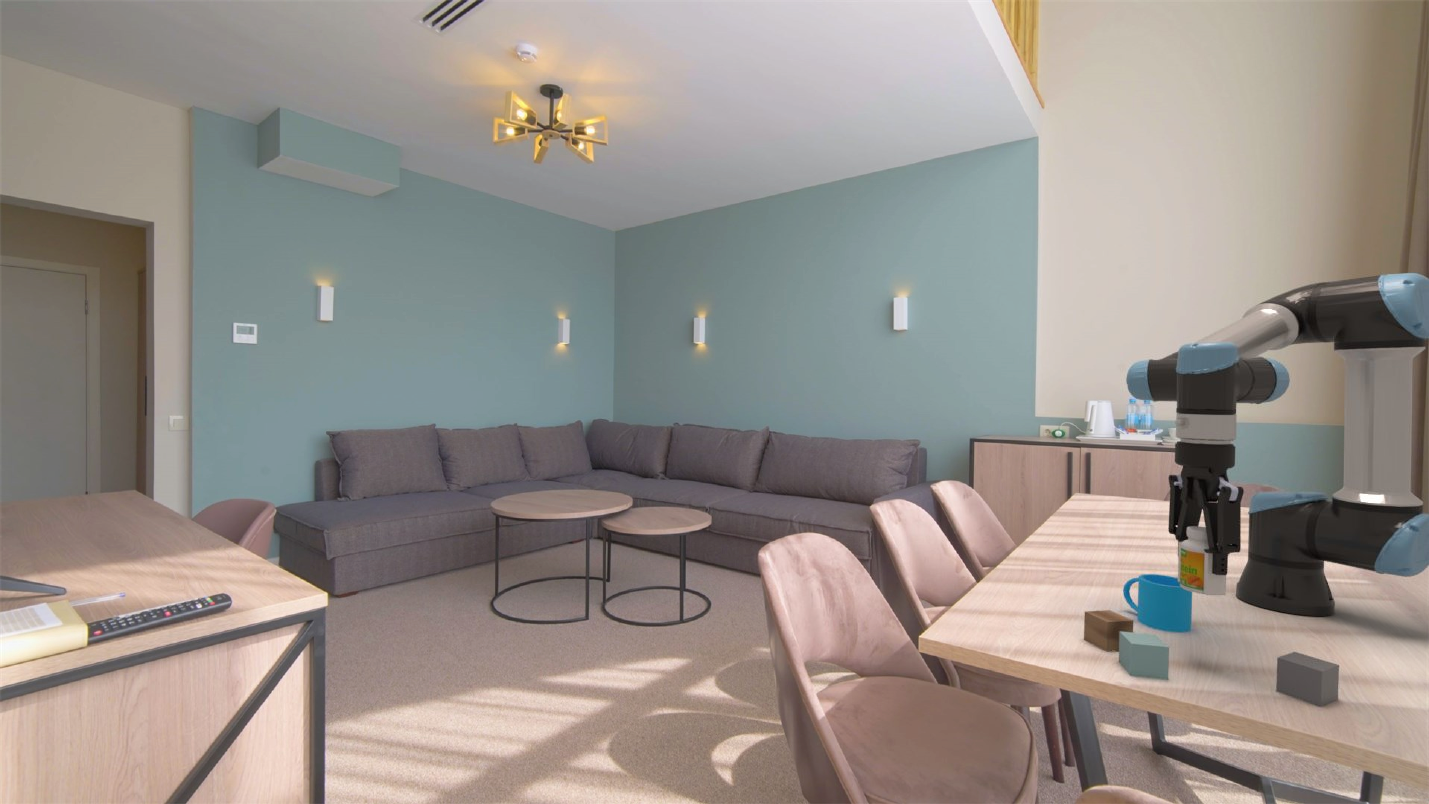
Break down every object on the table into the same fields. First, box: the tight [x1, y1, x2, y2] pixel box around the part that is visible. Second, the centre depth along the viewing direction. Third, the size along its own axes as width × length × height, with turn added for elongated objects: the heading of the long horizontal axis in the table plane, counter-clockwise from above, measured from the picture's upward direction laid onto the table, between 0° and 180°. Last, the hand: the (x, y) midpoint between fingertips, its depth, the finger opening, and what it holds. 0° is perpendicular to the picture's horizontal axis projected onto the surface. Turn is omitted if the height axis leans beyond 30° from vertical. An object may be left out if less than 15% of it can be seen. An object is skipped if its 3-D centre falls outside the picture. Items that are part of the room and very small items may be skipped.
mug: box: [1122, 573, 1193, 633], centre depth 120 cm, size 12×8×8 cm
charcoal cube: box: [1275, 651, 1340, 708], centre depth 91 cm, size 5×5×5 cm
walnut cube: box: [1083, 609, 1134, 652], centre depth 109 cm, size 5×5×5 cm
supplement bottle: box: [1180, 526, 1218, 596], centre depth 101 cm, size 5×5×10 cm
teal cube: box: [1118, 631, 1170, 681], centre depth 99 cm, size 5×5×5 cm
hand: (1200, 587), depth 101 cm, fingers closed on supplement bottle, 5 cm apart
